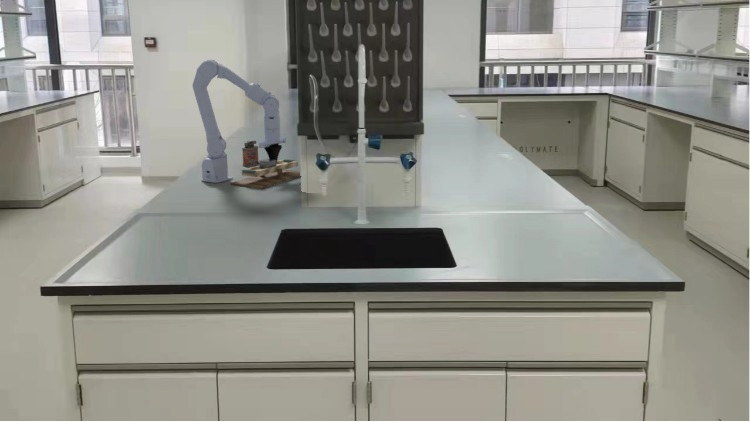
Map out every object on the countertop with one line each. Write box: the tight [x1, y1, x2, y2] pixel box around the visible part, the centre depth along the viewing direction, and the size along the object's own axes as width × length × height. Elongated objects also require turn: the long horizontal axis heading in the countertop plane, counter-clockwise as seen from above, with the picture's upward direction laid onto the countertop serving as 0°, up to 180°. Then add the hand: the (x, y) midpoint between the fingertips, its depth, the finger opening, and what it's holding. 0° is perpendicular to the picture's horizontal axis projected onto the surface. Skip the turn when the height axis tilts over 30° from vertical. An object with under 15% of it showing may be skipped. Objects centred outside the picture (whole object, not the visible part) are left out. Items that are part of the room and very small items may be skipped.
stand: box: [230, 168, 301, 190], centre depth 271 cm, size 30×14×4 cm, turn 152°
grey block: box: [258, 158, 276, 169], centre depth 268 cm, size 5×4×3 cm
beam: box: [241, 158, 299, 177], centre depth 270 cm, size 27×7×2 cm, turn 152°
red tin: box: [241, 140, 259, 167], centre depth 299 cm, size 8×3×10 cm, turn 143°
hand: (273, 164), depth 271 cm, fingers closed
